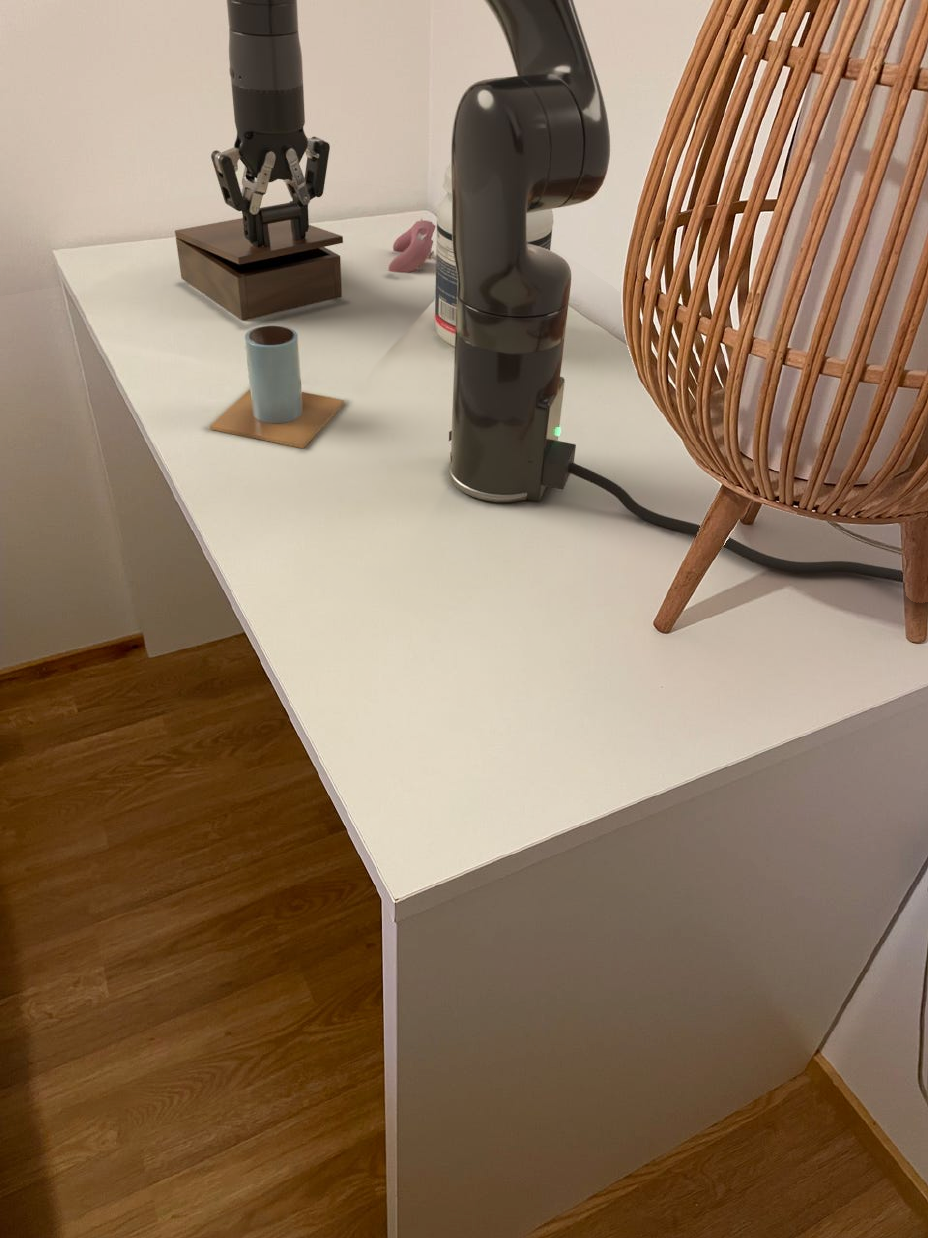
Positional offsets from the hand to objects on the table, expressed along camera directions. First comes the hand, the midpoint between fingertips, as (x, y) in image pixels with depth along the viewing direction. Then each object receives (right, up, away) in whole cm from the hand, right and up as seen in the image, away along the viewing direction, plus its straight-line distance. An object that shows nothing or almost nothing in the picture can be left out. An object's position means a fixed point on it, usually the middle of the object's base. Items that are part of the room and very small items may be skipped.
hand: (277, 239), depth 114 cm
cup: (+3, -24, -16) cm, 29 cm away
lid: (-3, +1, +4) cm, 5 cm away
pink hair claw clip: (+15, +3, +18) cm, 24 cm away
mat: (+3, -24, -16) cm, 29 cm away
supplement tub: (+25, -11, +2) cm, 27 cm away
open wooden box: (-4, -4, +8) cm, 10 cm away
